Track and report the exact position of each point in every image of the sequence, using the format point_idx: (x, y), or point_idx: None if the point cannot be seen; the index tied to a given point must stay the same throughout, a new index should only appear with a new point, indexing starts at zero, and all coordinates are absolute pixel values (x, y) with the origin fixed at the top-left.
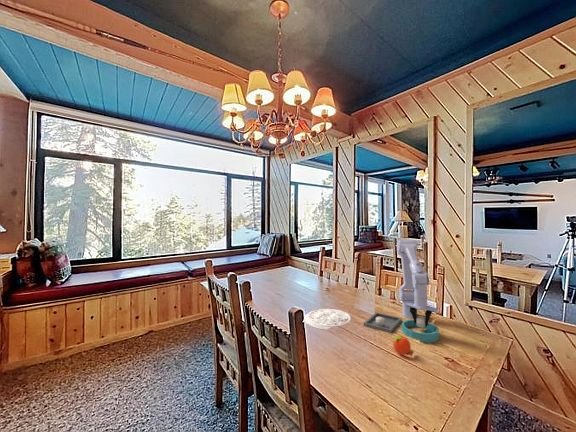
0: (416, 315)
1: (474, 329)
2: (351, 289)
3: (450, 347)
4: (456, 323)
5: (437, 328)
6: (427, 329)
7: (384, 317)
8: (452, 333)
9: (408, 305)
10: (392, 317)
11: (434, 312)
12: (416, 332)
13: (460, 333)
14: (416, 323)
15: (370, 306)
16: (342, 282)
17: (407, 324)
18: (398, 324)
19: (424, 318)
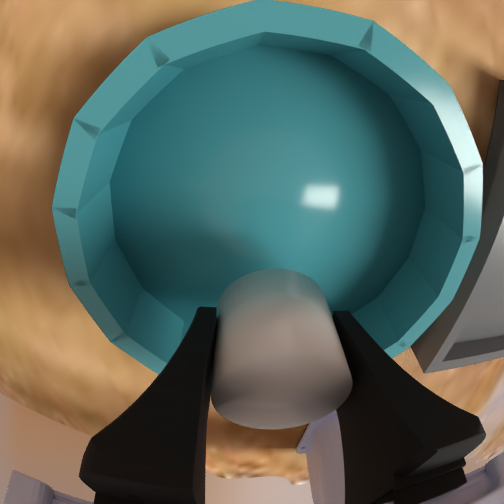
0: (342, 418)
1: (42, 409)
2: (494, 444)
3: (3, 109)
4: None
5: (90, 305)
6: None
7: (500, 336)
8: (72, 349)
9: (498, 493)
10: (473, 352)
11: (58, 492)
12: (308, 10)
13: (48, 363)
14: (329, 310)
15: (496, 400)
16: (496, 454)
17: (401, 299)
18: None
19: (232, 398)
